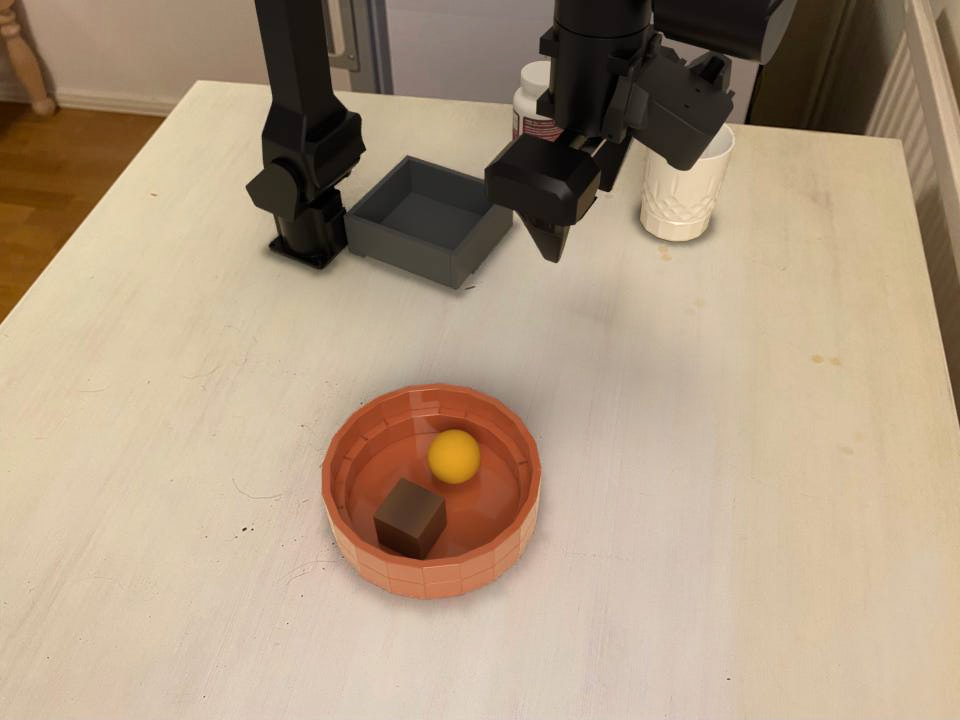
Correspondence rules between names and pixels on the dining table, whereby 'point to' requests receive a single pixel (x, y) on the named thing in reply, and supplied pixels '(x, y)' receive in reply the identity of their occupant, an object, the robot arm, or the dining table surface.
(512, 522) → the bowl
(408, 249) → the bin
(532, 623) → the dining table surface
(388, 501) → the toy block
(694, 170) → the white cup
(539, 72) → the pill bottle
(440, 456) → the toy ball
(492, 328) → the dining table surface
